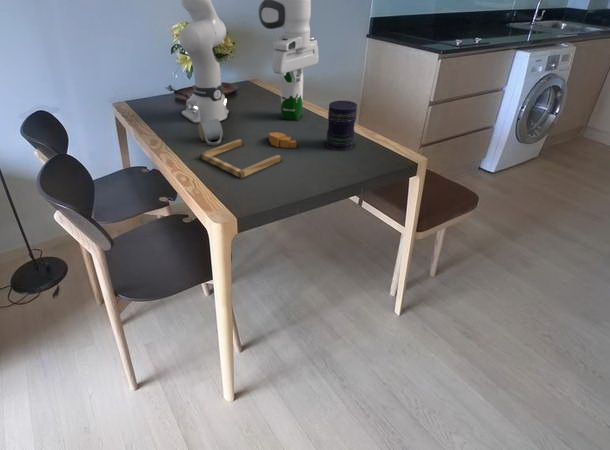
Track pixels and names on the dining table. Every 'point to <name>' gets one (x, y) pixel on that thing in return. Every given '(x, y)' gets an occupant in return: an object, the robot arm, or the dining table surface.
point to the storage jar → (341, 125)
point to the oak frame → (231, 169)
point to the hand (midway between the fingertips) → (296, 82)
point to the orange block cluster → (281, 140)
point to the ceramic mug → (211, 131)
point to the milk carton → (291, 97)
